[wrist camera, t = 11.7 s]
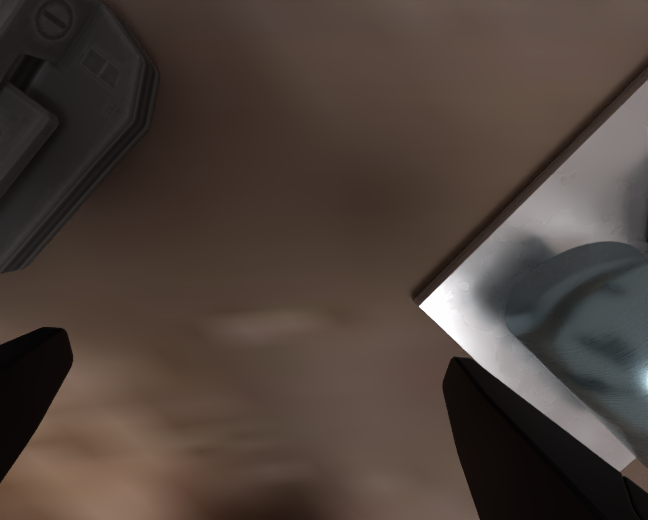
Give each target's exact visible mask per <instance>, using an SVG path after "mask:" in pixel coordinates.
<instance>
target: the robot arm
mask: <svg viewBox="0 0 648 520" xmlns="http://www.w3.org/2000/svg"><path fill="white" fill-rule="evenodd" d="M72 363H73V353H72V349H71V345H70V341H69V338H68V334H67V332H66V330H65V329H63V328H56V327H42V328H39V329H37V330H35V331H32V332H30V333H27V334H25V335H23V336H20V337H18V338H16V339H13V340H11V341H8V342H6V343H4V344H1V345H0V483H1V481H2V480H3V479H4V477H5V476H6V474H7V473H8V471H9V470H10V468H11V467H12V465H13V464H14V462H15V461H16V460H17V458H18V457H19V455H20V454H21V452H22V451H23V449H24V448H25V446H26V445H27V443H28V442H29V440H30V439H31V437H32V436H33V434H34V433H35V431H36V429H37V428H38V426H39V424H40V423H41V421H42V419H43V417H44V416H45V414H46V412H47V410H48V408H49V407H50V405H51V403H52V401H53V399H54V397H55V396H56V394H57V392H58V390H59V388H60V387H61V385H62V383H63V381H64V379H65V377H66V376H67V374H68V372H69V370H70V368H71V366H72ZM442 387H443V394H444V398H445V402H446V407H447V411H448V415H449V420H450V424H451V428H452V433H453V437H454V441H455V445H456V449H457V453H458V456H459V459H460V462H461V465H462V468H463V471H464V474H465V477H466V480H467V483H468V486H469V489H470V492H471V495H472V498H473V501H474V504H475V506H476V509H477V512H478V515H479V518H480V520H648V493H647V492H645V491H644V490H643V489H642V488H640V487H639V486H638V485H636V484H635V483H634V482H632V481H631V480H630V479H629V478H627V477H625V476H622V474H621V473H620V472H619V471H618V470H617V469H615V468H614V467H613V466H611V465H610V464H609V463H607V462H606V461H605V460H604V459H602V458H601V457H600V456H598V455H597V454H596V453H594V452H593V451H592V450H590V449H589V448H588V447H586V446H585V445H584V444H583V443H581V442H580V441H579V440H577V439H576V438H575V437H573V436H572V435H571V434H569V433H568V432H567V431H566V430H564V429H563V428H562V427H560V426H559V425H558V424H556V423H555V422H554V421H552V420H551V419H550V418H549V417H547V416H546V415H545V414H543V413H542V412H541V411H539V410H538V409H537V408H535V407H534V406H533V405H532V404H530V403H529V402H528V401H526V400H525V399H524V398H522V397H521V396H520V395H518V394H517V393H516V392H515V391H513V390H512V389H511V388H509V387H508V386H507V385H505V384H504V383H503V382H501V381H500V380H499V379H497V378H496V377H495V376H494V375H492V374H491V373H490V372H488V371H487V370H486V369H484V368H483V367H482V366H480V365H479V364H478V363H477V362H475V361H474V360H473V359H471V358H469V357H458V356H455V357H453V358H452V359H451V360H450V363H449V366H448V368H447V371H446V374H445V377H444V379H443V386H442Z"/></svg>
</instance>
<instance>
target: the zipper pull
mask: <svg viewBox="0 0 648 520" xmlns="http://www.w3.org/2000/svg"><path fill="white" fill-rule="evenodd" d="M159 79H160V74H159V72H158V70H157V68H156V67H155V65H154V64H153V63H152V61H151V60H150V58H149V57H148V55H147V54H146V52H145V51H144V49H143V48H142V46H141V45H140V43H139V42H138V40H137V39H136V38H135V36H134V35H133V33H132V32H131V30H130V29H129V27H128V26H127V25H126V24H125V23H124V22H123V21H122V20H121V19H120V18H119V17H118V16H117V15H116V14H115V13H114V12H113V11H112V10H111V9H109V8H108V7H107V6H106V4H105V3H104V2H103V1H102V0H0V273H5V272H10V271H14V270H19V269H24V268H25V267H26V266H28V265H29V264H30V263H31V262H32V261H33V260H34V259H35V257H36V256H37V255H38V254H39V253H40V252H41V251H42V250H43V248H44V247H45V246H46V245H47V244H48V243H49V242H50V240H51V239H52V238H53V237H54V236H55V235H56V234H57V232H58V231H59V230H60V229H61V228H62V227H63V226H64V224H65V223H66V222H67V221H68V220H69V219H70V218H71V216H72V215H73V214H74V213H75V212H76V211H77V210H78V209H79V207H80V206H81V205H82V204H83V203H84V202H85V201H86V199H87V198H88V197H89V196H90V195H91V194H92V193H93V191H94V190H95V189H96V188H97V187H98V186H99V185H100V183H101V182H102V181H103V180H104V179H105V178H106V177H107V176H108V174H109V173H110V172H111V171H112V170H113V169H114V168H115V167H116V166H117V164H118V163H119V162H120V161H121V160H122V159H123V158H124V157H125V156H126V155H127V154H128V153H129V151H130V150H131V149H132V148H133V147H134V146H135V145H136V144H137V143H138V142H139V141H140V139H141V138H142V137H143V136H144V135H145V134H146V133H147V132H148V131H149V129H150V125H151V120H152V115H153V110H154V104H155V99H156V94H157V89H158V84H159Z"/></svg>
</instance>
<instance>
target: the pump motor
mask: <svg viewBox="0 0 648 520" xmlns="http://www.w3.org/2000/svg"><path fill="white" fill-rule="evenodd" d="M413 301H414V302H415V303H416V304H417V305H418V306H419V307H421V308H422V309H423V310H424V311H425V312H426V313H427V314H428V315H429V316H430V317H431V318H432V319H433V320H434V321H435V322H436V323H437V324H438V325H439V326H440V327H441V328H442V329H443V330H444V331H445V332H447V333H448V334H449V335H450V336H451V337H452V338H453V339H454V340H455V341H456V342H457V343H458V344H459V345H460V346H461V347H462V348H463V349H464V350H465V351H466V352H467V353H468V354H469V355H470V356H471V357H473V358H474V359H475V360H476V361H477V362H478V363H479V364H480V365H481V366H482V367H483V368H484V369H486V370H487V371H488V372H490V373H491V374H492V375H494V376H495V377H496V378H497V379H499V380H500V381H501V382H503V383H504V384H505V385H507V386H508V387H509V388H511V389H512V390H513V391H515V392H516V393H517V394H518V395H520V396H521V397H522V398H524V399H525V400H526V401H528V402H529V403H530V404H532V405H533V406H534V407H535V408H537V409H538V410H539V411H541V412H542V413H543V414H545V415H546V416H547V417H549V418H550V419H551V420H552V421H554V422H555V423H556V424H558V425H559V426H560V427H562V428H563V429H564V430H566V431H567V432H568V433H569V434H571V435H572V436H573V437H575V438H576V439H577V440H579V441H580V442H581V443H583V444H584V445H585V446H586V447H588V448H589V449H590V450H592V451H593V452H594V453H596V454H597V455H598V456H600V457H601V458H602V459H604V460H605V461H606V462H607V463H609V464H610V465H611V466H613V467H614V468H615V469H617V470H618V471H619V472H620V471H621V470H622V469H623V468H625V467H626V466H627V465H628V464H629V463H630V462H631V461H633V460H634V459H635V458H637V459H638V460H639V461H640V462H641V463H642V464H643V465H644V466H645V467H647V468H648V67H646V68H645V69H644V70H643V71H642V72H641V73H640V74H639V75H638V76H637V77H636V78H635V79H634V80H633V81H632V82H631V83H630V84H629V85H628V86H627V87H626V88H625V89H624V90H623V91H622V92H621V93H620V94H619V95H618V96H617V97H616V98H615V99H614V100H613V101H612V102H611V103H610V104H609V105H608V106H607V107H606V108H605V109H604V110H603V111H602V112H601V113H600V114H599V115H598V116H597V117H596V118H595V119H594V120H593V121H592V122H591V123H590V124H589V125H588V126H587V127H586V128H585V129H584V130H583V131H582V132H581V133H580V134H579V135H578V136H577V137H576V138H575V139H574V140H573V141H572V142H571V143H570V144H569V145H568V146H567V147H566V148H565V149H564V150H563V151H562V152H561V153H560V154H559V155H558V156H557V157H556V158H555V159H554V160H553V161H552V162H551V163H550V164H549V165H548V166H547V167H546V168H545V169H544V170H543V171H542V172H541V173H540V174H539V175H538V176H537V177H536V178H535V179H534V180H533V181H532V182H531V183H530V184H529V185H528V186H527V187H526V188H525V189H524V190H523V191H522V192H521V193H520V194H519V195H518V196H517V197H516V198H515V199H514V200H513V201H512V202H511V203H510V204H509V205H508V206H507V207H506V208H505V209H504V210H503V211H502V212H501V213H500V214H499V215H498V216H497V217H496V218H495V219H494V220H493V221H492V222H491V223H490V224H489V225H488V226H487V227H486V228H485V229H484V230H483V231H482V232H481V233H480V234H479V235H478V236H477V237H476V238H475V239H474V240H473V241H472V242H471V243H470V244H469V245H468V246H467V247H466V248H465V249H464V250H463V251H462V252H461V253H460V254H459V255H458V256H457V257H456V258H455V259H454V260H453V261H452V262H451V263H450V264H449V265H448V266H447V267H446V268H445V269H444V270H443V271H442V272H441V273H440V274H439V275H438V276H437V277H436V278H435V279H434V280H433V281H432V282H430V283H429V284H428V285H427V286H426V287H425V288H424V289H423V290H422V291H421V292H420V293H419V294H418V295H417V296H416V297H415V298H414V299H413Z"/></svg>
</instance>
